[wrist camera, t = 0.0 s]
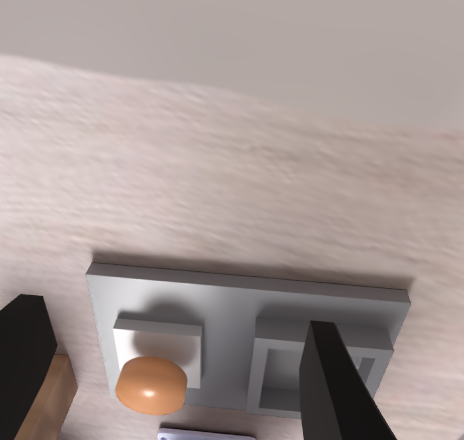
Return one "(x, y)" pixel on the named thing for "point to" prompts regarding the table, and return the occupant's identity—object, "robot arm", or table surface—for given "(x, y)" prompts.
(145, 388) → the button
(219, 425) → the table surface
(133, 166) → the table surface
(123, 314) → the loading station
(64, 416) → the block
